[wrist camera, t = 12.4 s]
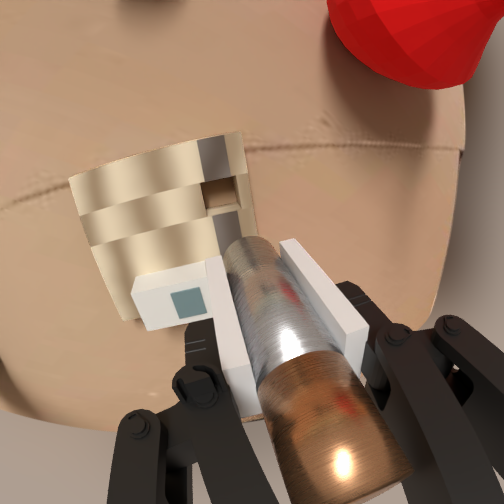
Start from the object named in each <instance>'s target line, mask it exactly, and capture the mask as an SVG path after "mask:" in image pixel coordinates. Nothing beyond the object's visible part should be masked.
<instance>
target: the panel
mask: <svg viewBox="0 0 504 504" xmlns="http://www.w3.org/2000/svg"><path fill="white" fill-rule="evenodd" d="M231 176H233V182H234V187H235V193H236V199H237V202H234V203H230V204H225V205H221V206H216V207H212V208H207V209H205V204H204V200H203V195H202V190H201V186H200V183H201V182H208V181H212V180H217V179H222V178H226V177H231ZM68 179H69V183H70V186H71V190H72V193H73V197H74V200H75V203H76V207H77V210H78V213H79V216H80V219H81V222H82V225H83V228H84V231H85V234H86V236H87V239H88V242H89V245H90V247H91V250H92V253H93V255H94V258H95V260H96V263H97V265H98V268H99V270H100V272H101V275H102V277H103V279H104V282H105V284H106V286H107V288H108V291H109V293H110V295H111V297H112V299H113V301H114V304H115V306H116V308H117V310H118V312H119V314H120V316H121V318H122V320H123V321H127V320H132V319H137V318H141V316H140V314H139V312H138V310H137V307H136V305H135V303H134V301H133V298H132V296H131V291H132V288H133V284H134V281H135V277H137V276H141V275H145V274H149V273H154V272H158V271H162V270H166V269H171V268H175V267H179V266H183V265H188V264H192V263H196V262H201V261H205V259H207V258H211V257H215V256H220V255H221V256H222V260H223V257H224V254H225V252H226V250H227V248H228V247H229V246H230V245H231V244H232V243H233V242H234V241H236V240H238V239H240V238H242V237H246V236H258V234H257V228H256V221H255V215H254V208H253V202H252V196H251V190H250V183H249V177H248V171H247V165H246V158H245V152H244V146H243V140H242V134H241V132H237V131H236V132H230V133H225V134H219V135H214V136H209V137H204V138H199V139H195V140H190V141H186V142H181V143H177V144H173V145H169V146H165V147H161V148H157V149H153V150H150V151H146V152H143V153H139V154H136V155H132V156H129V157H126V158H122V159H119V160H116V161H113V162H110V163H107V164H104V165H101V166H98V167H95V168H92V169H89V170H87V171H84V172H81V173H78V174H76V175H74V176H72V177H70V178H68Z"/></svg>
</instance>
